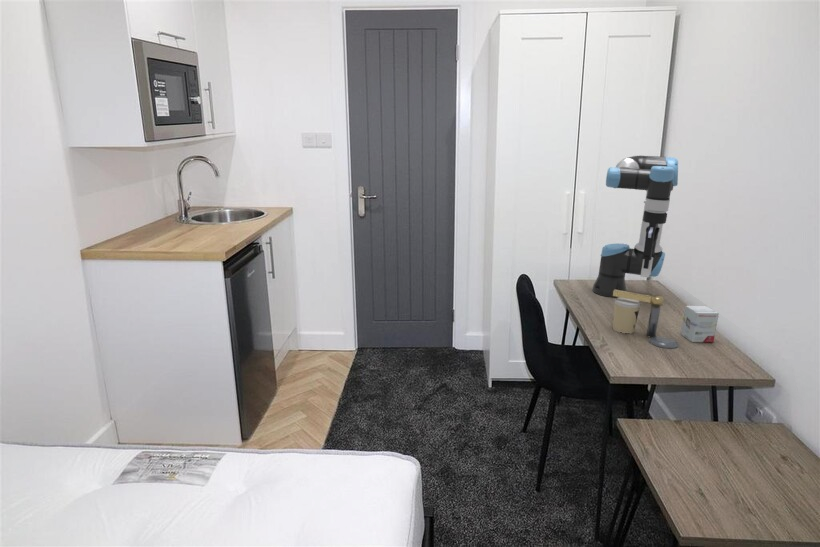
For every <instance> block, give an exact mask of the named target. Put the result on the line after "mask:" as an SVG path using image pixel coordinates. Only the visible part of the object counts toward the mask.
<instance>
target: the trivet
mask: <svg viewBox="0 0 820 547" xmlns="http://www.w3.org/2000/svg"><path fill="white" fill-rule="evenodd" d="M648 342H649V343H650V344H651V345H653V346H654V347H655V346H656V347H658V348H661V349H668V350H669V349H671V350H672V349H677V348H678V347H679V345H680V344H679V342H678V341H676V340H675V339H672V338H669V337H667V336H660V335H659V336H658V335H656V336H653V337H649V338H648Z"/></svg>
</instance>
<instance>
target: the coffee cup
mask: <svg viewBox="0 0 820 547" xmlns="http://www.w3.org/2000/svg"><path fill="white" fill-rule="evenodd" d="M613 307H614V308H613V320H612V321H613V322H612V329H613V331H615V332H616V333H620V332H622V333H621V334H625V333H630V334H633V333H634V332H635V328H636V325H637V320H638V317H639V316H638V315H639V311H640V307H641V301H638V300H633V299H627V298H622V297H615V299H614V306H613ZM632 332H633V333H632Z"/></svg>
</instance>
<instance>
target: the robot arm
mask: <svg viewBox="0 0 820 547" xmlns="http://www.w3.org/2000/svg"><path fill="white" fill-rule="evenodd" d="M606 172H607V173H606V177H605V186H606V187H607V188H613V189H624V190H637V191H646V194H645V200H643V204H644V207H643V213H642V214H643V215H642V218H641V219H642V221H641V224H640V225H641V227H640V234H639V240H638V242H637V243H636V244H635V245H634V247H633V248H631V247H630V245H629V244H627V243H608V244H605V245H604V246H602V248H601V254H600V262H599V271H598V276H596V279H595V281H594V283H593V286H592V292H593V293H594V294H597V295H599V296H602V297H608V298H609V297H610V298H618V297H617V296H613V291H614V290H615V289H616V290H621V291H627V292H628V289H627V284H626V280H625V278H626V274H630V275H637V276H640V277H642V278H646V279H647V278H649V277H653V278H655V277H656V278H657V277H658V276H659V274H660V273H661V271H662V268H663V265H664V261H665V258H666V253H665V252H664V251H663V248H662V246H661V238H662V237H661V236H662V233H663V232H662V231H663V226H664V224H665V223H667V218H668V213H667V212H668V211H669V208H670V198H671V194H672V193H671V192H673V190H674V187H676V186H678V184H679V183H678V181H679V179H678V178H679V160H678V159H677V158H675V157H671V156H658V155H657V156H656V155H655V156H654V155H633V156H629V157H625V158H623V159H621V160H619V162H617V163H616V165H615V167H612V166H611V167H608V168H607V171H606Z"/></svg>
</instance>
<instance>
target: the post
mask: <svg viewBox="0 0 820 547" xmlns="http://www.w3.org/2000/svg"><path fill="white" fill-rule="evenodd" d="M661 307H662V306H655V305H652V304H650V311H649V317H648V323H647V329H646V334H645V335H646V337H648V336H650V337H653V336H657V335H656V334H657V329H658V323H659V317H660V313H661V312H660V311H661ZM650 337H649V338H650Z"/></svg>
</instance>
